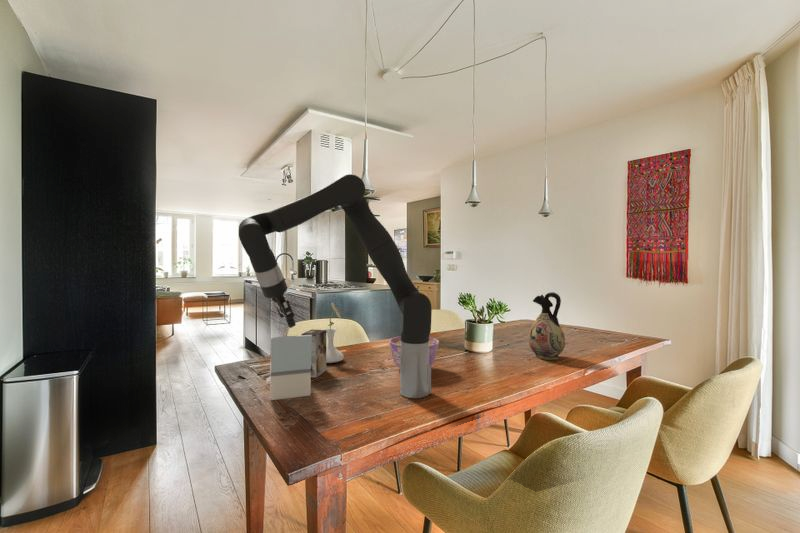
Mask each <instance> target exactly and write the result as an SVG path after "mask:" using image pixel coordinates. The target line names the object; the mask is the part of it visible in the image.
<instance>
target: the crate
mask: <svg viewBox="0 0 800 533" xmlns="http://www.w3.org/2000/svg"><path fill="white" fill-rule="evenodd" d="M269 362H270V363H269V374H270V375H269V376H270V378H269V392H270V393H269V396H270V401H274V400H275V401H276V400H284V399H292V398H301V397H311V389H312V388H311V386H312V385H311V384H312V383H311V378H312V377H311V368H310V369H300V370H289V371H279V372H271V361H269Z"/></svg>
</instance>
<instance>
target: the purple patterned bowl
mask: <svg viewBox="0 0 800 533" xmlns="http://www.w3.org/2000/svg"><path fill="white" fill-rule="evenodd" d="M388 340H389V341H388V342H389V346H390V352H391V356H392V360H393V362H394V364H395V365H396V367H398V368H400V360H401V335H399V336H395V337H392V338H390V339H388ZM439 344H440V340H439V339H437V338H434V337H431V336H429V364H430V365H431V367H432V366H433V364H434V362H435V361H436V357H437V353H438V350H439V347H440V346H439Z"/></svg>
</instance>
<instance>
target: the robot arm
mask: <svg viewBox="0 0 800 533" xmlns="http://www.w3.org/2000/svg"><path fill="white" fill-rule="evenodd" d="M365 193H366V185H365V182H364V181H363V179H362V178H361V177H360V176H358V175H356V174H345V175H342V176H341V177H340V178H338V179H336V180H335V181H334V182H332V183H330V184H328V185H327V186H325V187H323V188H322V189H319V190H317V191H315V192H313V193H311V194H308V195H305V196H304V197H301V198H299V199H295V200H294V201H292V202H288V203H286V204H284V205H281V206H279V207H277V208H274V209H272V210H270V211H267V212H262V213H261V212H260V213H258V214H254V215H251V216H249V217H247V218H246V217H245V218H244V219H242V221H241V222H240V223H239V225H238V239H239V241H240V244H241V245H242V247H243V249H244V251H245V253H246V254H247V256H248V257H249V260H250V264H251V267H252V268H253V270H254V273H255V277H256V279H257V282H258V284H259V287H260V289H261V292H262V294H263V297H265V298H267V299H270V300H271V302H272V305H273V307H274V308H275V309H276V310H277V312H278V315H279V317H280V318H282V319H283V318H284V320H285V321H286V324H287V326H288V327H289V329H291V328H294V327H295V326H296V321H295V319H294V317H295V313H294V312H293V309H292V307H291V303H290V301H289V300H288V297H287V296H286V295H285V294H286V292H287V291H288V285H287V283H286V280H285V277H284V274H283V272H282V270H281V268H280V266H279V264H278V262H277V258H276V255H275V254H274V251H273V249H271V247H270V244H269V242H268V238H267V235H269V234H272V233H274V232H276V233H283V232H286V231H288V230H291V229H293V228H295V227H297V226H300V225H302V224H304V223H306V222H308V221H310V220H311V219H314V218H315V217H317V216H318V215H320V214H323V213H324V212H326V211H329V210H331V209H335V208H338V207H341V209H342V210H343V211H344V213H345V214H346V216H347V217H348V219H349V220H350V222H351V223H352V225H353V226H354V228H355V230H356V233H357V235H358V237H359V239H360V241H361V243H362V245H363V247H364V250H365V251H366V253H367V255H368V256H369V258H370V260H371V261H372V263H373V264H374V266H375V268H376V269H377V271H378V273H379V274H380V275H381V277H382V278H383V279H384V281H385V282H386V284H387V285H388V286H389V289H390V290H391V293H392V295H393V297H394V299H395V301H396V304H397V306H398V308H399V310H400V313H401V314H402V316H403V318H402V330H401V333H400V336H401V360H400V367H399V369H400V370H399V372H400V374H399V375H400V376H399V377H400V380H399V388H400V391H399V392H400V395H401V396H402V397H404V398H409V399H422V397H423V398H426V397H427V396H430V395H429V394H431V395H432V366H431V365H430V364H429V337H430V335H431V332H432V330H431V329H432V312H433V310H432V303H431V300H430V298H429V297H428V295H426V294H424V293H422V292H420V291H419V290H418V289H417V288H416V286H415V284H414V282H413V281H412V280H411V278H410V277H409V275H408V272H407V270H406V265H405V264H404V259H403V257H402V254H401V252H400V250H399V248H398V246H397V244H396V242H395V240H394V239H393V237H392V235H391V234H390V232H389V231H388V230H387V229H386V228H385V227H384V225H383V224H382V223H381V222H380V221H379V220H378V219H377V217H376V216H375V215H374V213H373V212H372V209H371V208H370V206H369V204H368V203H367V199H366V197H365ZM425 396H426V397H425Z"/></svg>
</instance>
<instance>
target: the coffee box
mask: <svg viewBox="0 0 800 533" xmlns="http://www.w3.org/2000/svg"><path fill="white" fill-rule="evenodd" d="M301 335H312V345H311V378H318V377H319V376H321V375H322V374H323V373H324V372H326V371H327V363H326V348H327V333H326V330H325V329H310V330H308V331H305V332H303V333H301Z"/></svg>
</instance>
